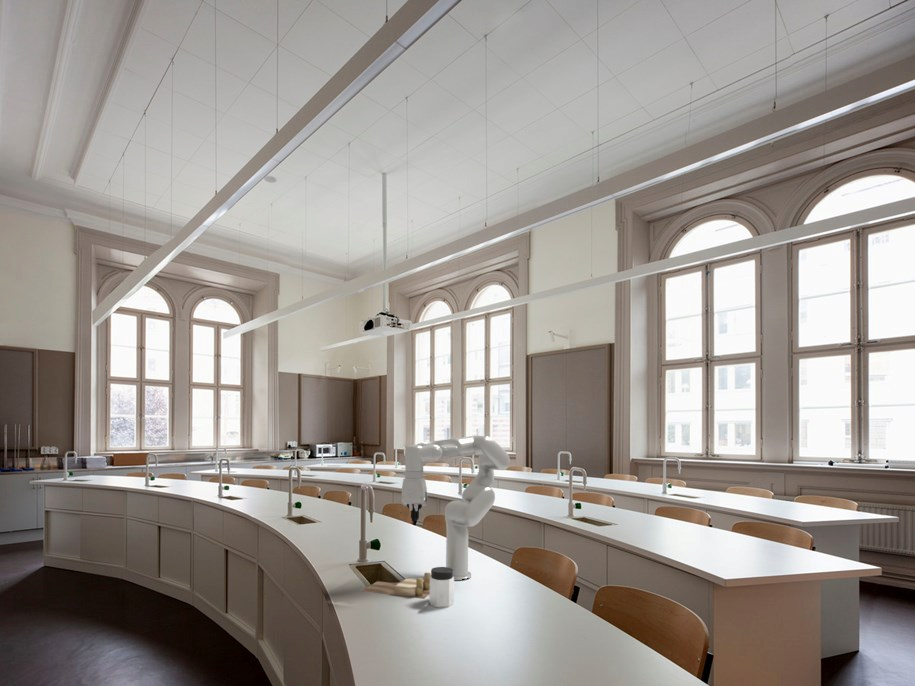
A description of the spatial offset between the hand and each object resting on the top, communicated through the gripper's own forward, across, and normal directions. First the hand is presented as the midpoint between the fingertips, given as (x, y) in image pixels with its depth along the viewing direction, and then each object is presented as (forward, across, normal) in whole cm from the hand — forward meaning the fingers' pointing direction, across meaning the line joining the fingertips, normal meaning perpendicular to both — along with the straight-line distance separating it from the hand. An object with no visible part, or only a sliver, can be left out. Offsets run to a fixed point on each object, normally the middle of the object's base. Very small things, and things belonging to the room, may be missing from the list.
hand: (415, 520), depth 227 cm
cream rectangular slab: (+24, +3, -11) cm, 27 cm away
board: (+25, -2, -11) cm, 28 cm away
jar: (+26, +18, -18) cm, 36 cm away
